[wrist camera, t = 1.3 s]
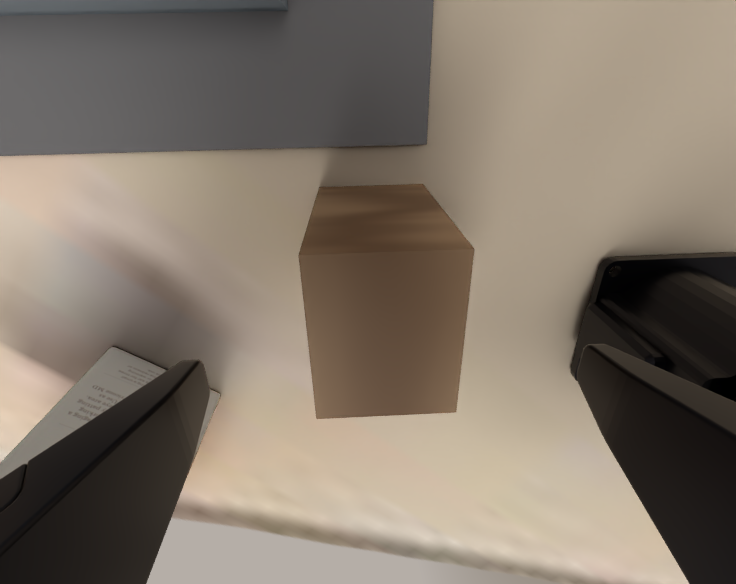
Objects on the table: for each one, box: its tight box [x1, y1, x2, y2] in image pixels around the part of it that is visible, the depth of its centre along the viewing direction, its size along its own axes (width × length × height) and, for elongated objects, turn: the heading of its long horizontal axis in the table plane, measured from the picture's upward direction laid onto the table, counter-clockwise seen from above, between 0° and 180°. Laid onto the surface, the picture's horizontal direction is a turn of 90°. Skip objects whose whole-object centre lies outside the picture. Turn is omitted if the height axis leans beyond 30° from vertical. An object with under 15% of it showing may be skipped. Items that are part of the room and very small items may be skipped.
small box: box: [0, 347, 220, 479], centre depth 15 cm, size 8×6×10 cm
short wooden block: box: [299, 184, 474, 419], centre depth 13 cm, size 4×5×7 cm
